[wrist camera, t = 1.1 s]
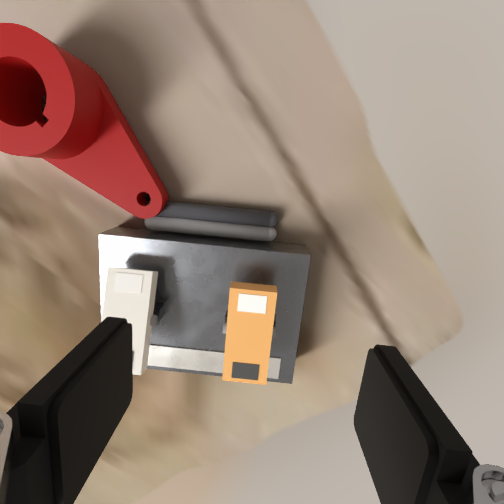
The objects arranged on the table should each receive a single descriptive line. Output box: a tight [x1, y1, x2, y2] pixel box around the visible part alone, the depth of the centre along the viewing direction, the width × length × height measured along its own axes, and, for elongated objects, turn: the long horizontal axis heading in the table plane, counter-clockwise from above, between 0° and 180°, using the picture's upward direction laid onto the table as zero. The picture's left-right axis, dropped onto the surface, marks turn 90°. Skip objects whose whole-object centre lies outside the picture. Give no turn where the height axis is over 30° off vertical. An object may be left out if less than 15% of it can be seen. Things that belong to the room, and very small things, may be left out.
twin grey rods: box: [144, 200, 278, 242], centre depth 32 cm, size 3×14×2 cm, turn 85°
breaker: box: [101, 267, 158, 375], centre depth 29 cm, size 9×5×2 cm, turn 175°
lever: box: [0, 23, 169, 219], centre depth 28 cm, size 18×9×7 cm, turn 43°
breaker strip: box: [99, 227, 311, 384], centre depth 33 cm, size 14×20×6 cm
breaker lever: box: [222, 281, 277, 385], centre depth 29 cm, size 9×5×2 cm, turn 175°
